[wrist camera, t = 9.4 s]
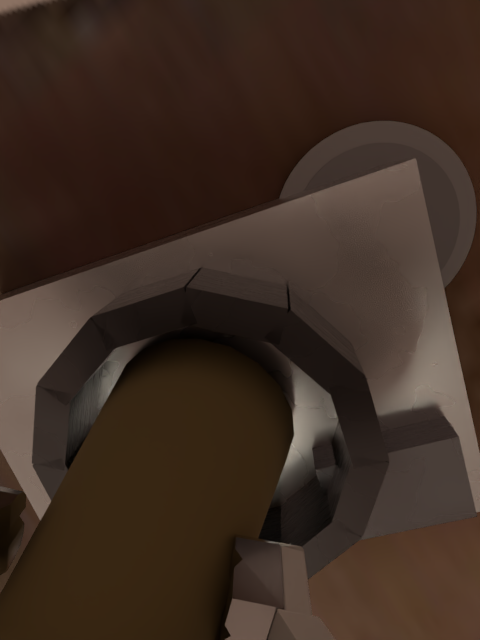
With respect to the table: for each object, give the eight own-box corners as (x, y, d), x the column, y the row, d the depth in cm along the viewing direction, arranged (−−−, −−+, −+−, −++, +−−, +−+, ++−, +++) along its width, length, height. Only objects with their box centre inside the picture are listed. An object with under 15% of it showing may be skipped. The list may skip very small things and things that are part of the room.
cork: (222, 303, 13) (-189, 984, 3) (330, 457, 14) (298, 1232, 4) (79, 385, 15) (-401, 900, 5) (185, 507, 17) (-39, 1079, 7)
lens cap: (446, 92, 15) (460, 85, 14) (483, 284, 17) (497, 292, 16) (250, 163, 16) (248, 162, 15) (304, 335, 18) (306, 346, 17)
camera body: (383, 162, 16) (449, 154, 10) (449, 443, 19) (530, 570, 13) (1, 294, 19) (-135, 352, 13) (115, 520, 22) (51, 655, 16)
